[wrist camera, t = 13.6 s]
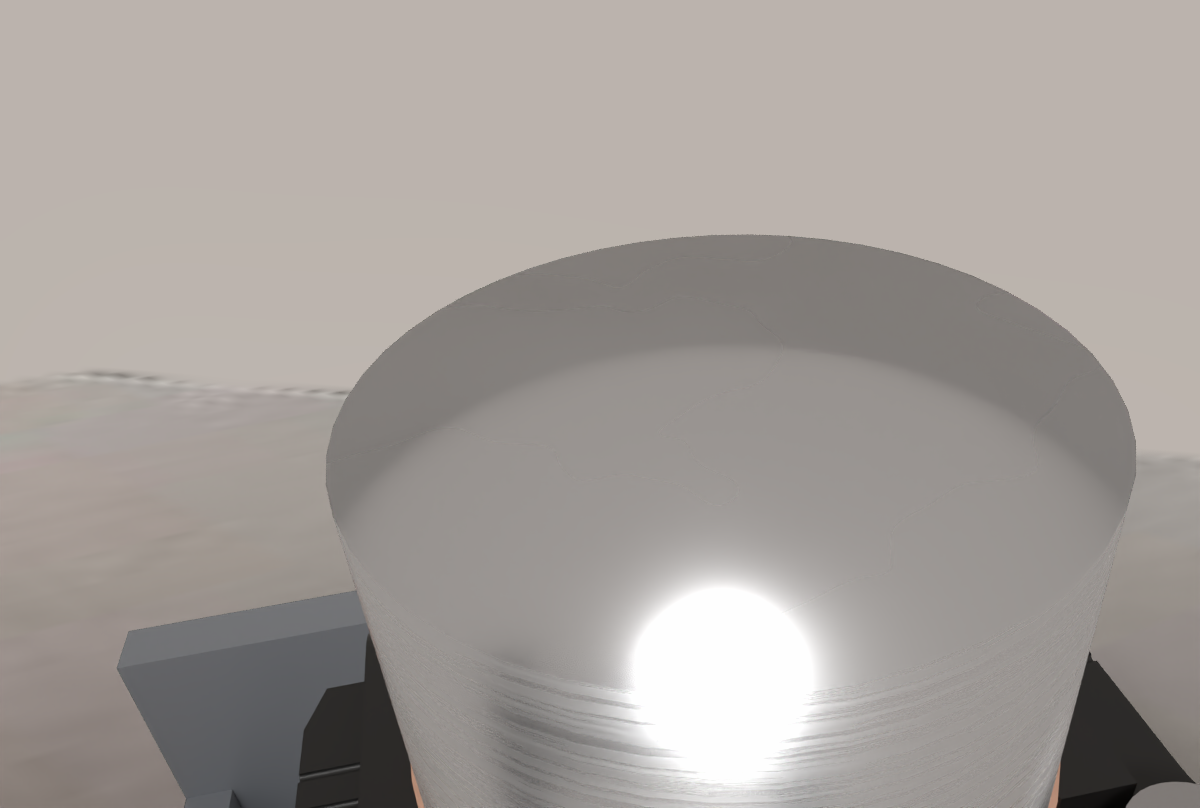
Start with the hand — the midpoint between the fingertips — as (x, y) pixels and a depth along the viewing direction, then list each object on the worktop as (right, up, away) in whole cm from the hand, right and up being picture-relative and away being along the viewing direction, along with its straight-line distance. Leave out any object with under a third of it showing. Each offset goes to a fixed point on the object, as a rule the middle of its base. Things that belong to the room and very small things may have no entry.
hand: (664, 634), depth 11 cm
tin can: (+1, -6, +1) cm, 7 cm away
